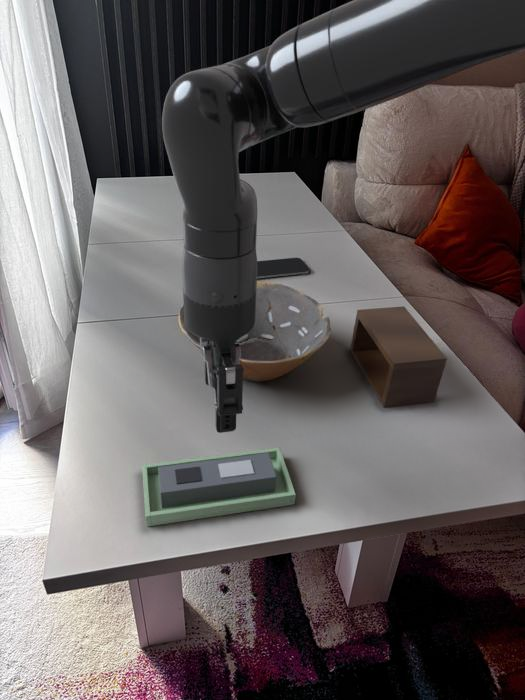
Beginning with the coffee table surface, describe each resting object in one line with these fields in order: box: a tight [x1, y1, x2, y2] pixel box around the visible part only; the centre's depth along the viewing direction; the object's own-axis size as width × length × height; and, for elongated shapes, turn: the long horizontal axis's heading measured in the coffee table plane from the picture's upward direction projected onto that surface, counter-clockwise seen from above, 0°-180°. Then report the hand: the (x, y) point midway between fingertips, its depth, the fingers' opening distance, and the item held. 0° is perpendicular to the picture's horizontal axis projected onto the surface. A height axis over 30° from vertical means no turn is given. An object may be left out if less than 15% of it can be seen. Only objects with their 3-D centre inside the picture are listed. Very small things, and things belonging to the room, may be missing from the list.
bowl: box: [178, 280, 332, 382], centre depth 95 cm, size 25×25×10 cm
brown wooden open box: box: [349, 305, 448, 408], centre depth 94 cm, size 16×9×9 cm, turn 13°
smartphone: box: [257, 257, 311, 280], centre depth 127 cm, size 7×1×15 cm
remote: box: [158, 453, 277, 508], centre depth 73 cm, size 15×4×3 cm, turn 103°
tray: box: [141, 447, 297, 527], centre depth 74 cm, size 19×9×2 cm, turn 103°
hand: (219, 405), depth 65 cm, fingers open, 8 cm apart
